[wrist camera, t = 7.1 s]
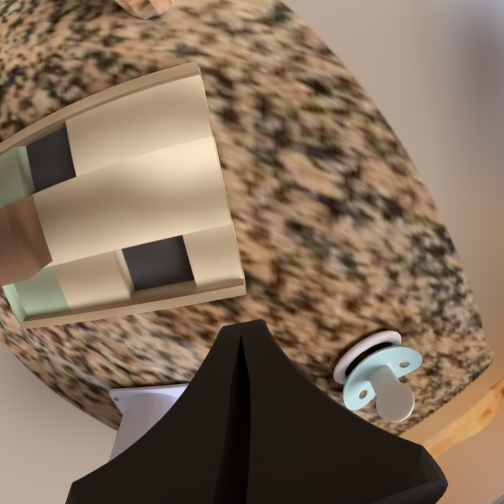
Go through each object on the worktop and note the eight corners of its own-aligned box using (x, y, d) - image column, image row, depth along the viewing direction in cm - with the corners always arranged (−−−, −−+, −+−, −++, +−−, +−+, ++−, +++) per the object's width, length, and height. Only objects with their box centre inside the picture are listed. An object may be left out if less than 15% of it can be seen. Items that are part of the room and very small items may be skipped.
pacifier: (316, 365, 23) (350, 399, 24) (335, 423, 17) (370, 450, 18) (391, 311, 21) (416, 352, 23) (429, 357, 15) (449, 396, 17)
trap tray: (244, 277, 19) (246, 294, 17) (35, 314, 20) (22, 329, 17) (200, 71, 15) (195, 61, 13) (-14, 161, 15) (-33, 165, 13)
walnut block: (52, 260, 17) (28, 279, 14) (12, 272, 17) (-11, 289, 14) (32, 195, 15) (4, 205, 12) (-7, 214, 15) (-33, 225, 12)
